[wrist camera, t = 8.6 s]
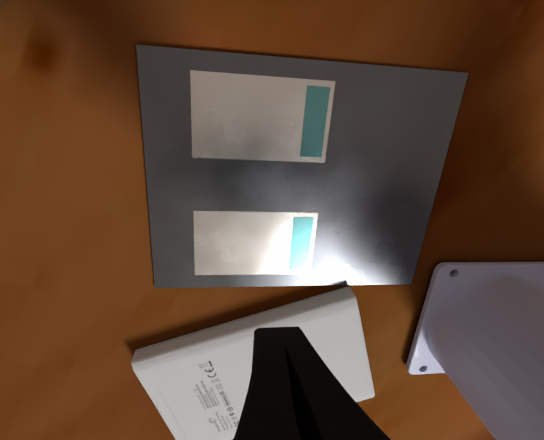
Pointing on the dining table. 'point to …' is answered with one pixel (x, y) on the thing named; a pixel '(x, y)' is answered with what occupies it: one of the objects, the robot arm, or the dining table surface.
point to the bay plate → (290, 167)
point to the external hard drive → (247, 363)
